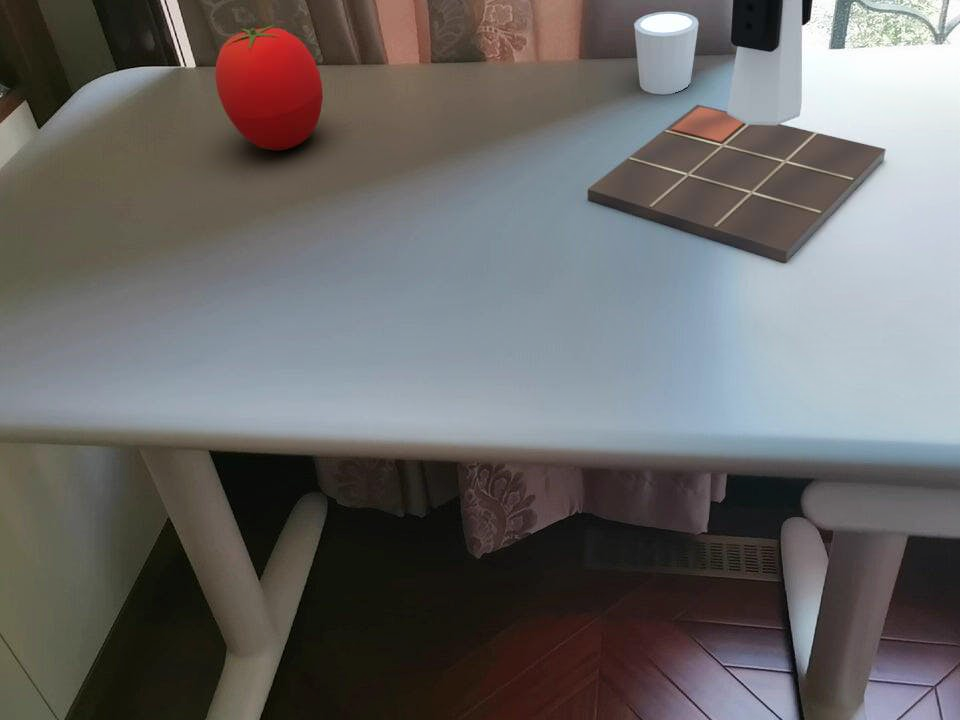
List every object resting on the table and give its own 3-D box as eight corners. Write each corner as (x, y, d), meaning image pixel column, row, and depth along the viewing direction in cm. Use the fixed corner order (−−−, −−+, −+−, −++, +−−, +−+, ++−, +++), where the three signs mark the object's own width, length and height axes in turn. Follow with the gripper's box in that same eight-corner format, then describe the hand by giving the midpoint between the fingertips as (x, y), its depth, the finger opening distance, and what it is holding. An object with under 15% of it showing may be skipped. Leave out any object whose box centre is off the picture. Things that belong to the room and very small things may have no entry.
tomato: (346, 148, 104) (322, 33, 95) (250, 178, 101) (216, 61, 92) (315, 111, 112) (289, 1, 104) (225, 137, 109) (191, 26, 101)
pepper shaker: (781, 133, 66) (798, -31, 59) (710, 117, 69) (718, -41, 62) (817, 101, 69) (836, -59, 62) (747, 86, 72) (758, -68, 64)
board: (883, 160, 91) (886, 146, 90) (785, 263, 80) (787, 249, 79) (696, 114, 101) (697, 102, 100) (587, 200, 91) (587, 187, 90)
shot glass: (630, 96, 106) (630, 35, 102) (637, 70, 111) (637, 10, 107) (693, 97, 105) (696, 34, 100) (698, 70, 110) (700, 9, 105)
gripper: (795, -258, 47) (765, 94, 58) (922, -315, 56) (874, -2, 68) (660, -257, 51) (658, 72, 62) (799, -311, 60) (774, -15, 72)
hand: (770, 31), depth 65 cm, fingers closed on pepper shaker, 4 cm apart
